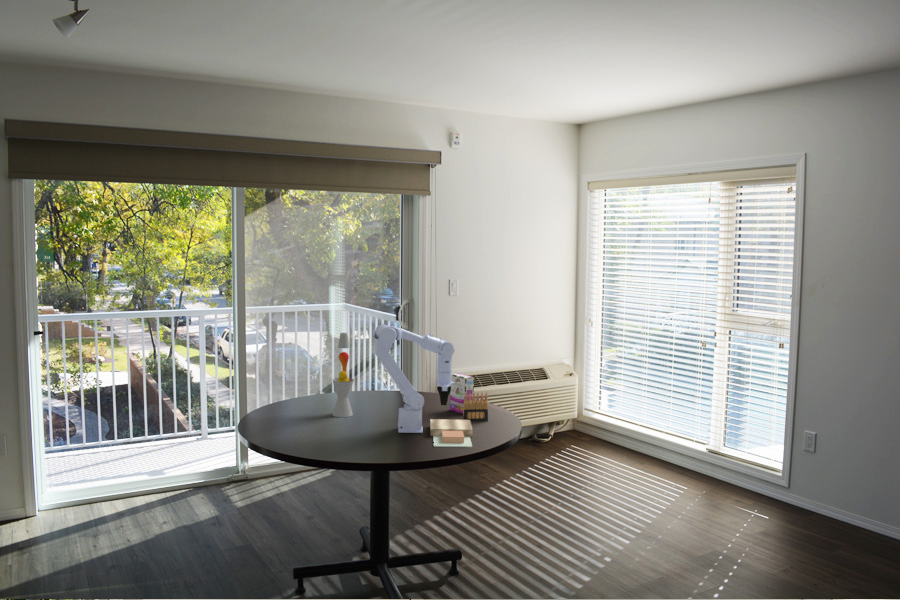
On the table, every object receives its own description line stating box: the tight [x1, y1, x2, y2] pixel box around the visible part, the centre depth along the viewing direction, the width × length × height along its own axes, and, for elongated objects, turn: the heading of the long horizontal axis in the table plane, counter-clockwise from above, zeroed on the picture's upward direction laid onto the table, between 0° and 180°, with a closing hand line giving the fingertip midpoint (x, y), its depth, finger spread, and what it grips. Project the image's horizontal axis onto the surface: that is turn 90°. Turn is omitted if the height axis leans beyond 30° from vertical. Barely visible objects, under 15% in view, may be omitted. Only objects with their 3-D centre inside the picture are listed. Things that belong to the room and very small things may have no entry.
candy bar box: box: [449, 372, 475, 415], centre depth 282 cm, size 11×5×16 cm, turn 37°
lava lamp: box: [332, 332, 355, 418], centre depth 271 cm, size 9×9×35 cm
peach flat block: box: [442, 431, 464, 443], centre depth 240 cm, size 8×8×2 cm
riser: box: [429, 418, 474, 438], centre depth 251 cm, size 16×14×3 cm
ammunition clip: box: [461, 392, 489, 422], centre depth 268 cm, size 11×2×12 cm, turn 101°
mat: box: [432, 436, 473, 448], centre depth 238 cm, size 14×12×1 cm
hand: (443, 404), depth 256 cm, fingers closed
